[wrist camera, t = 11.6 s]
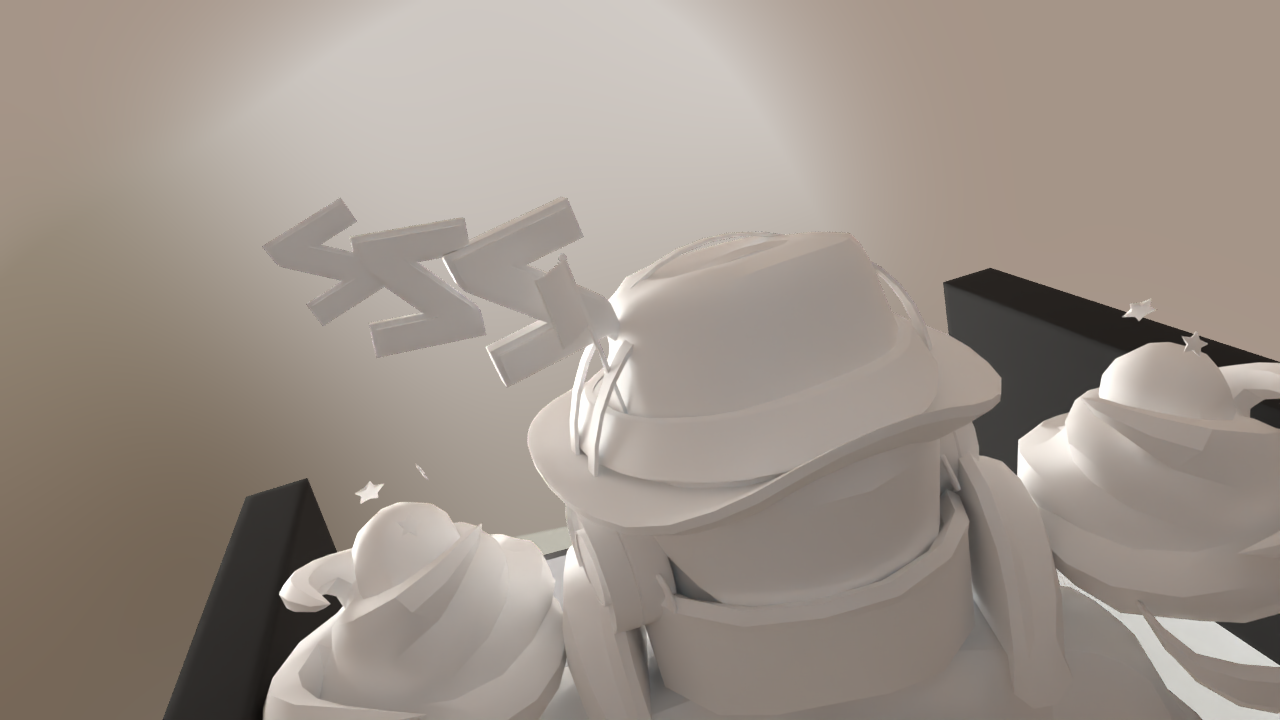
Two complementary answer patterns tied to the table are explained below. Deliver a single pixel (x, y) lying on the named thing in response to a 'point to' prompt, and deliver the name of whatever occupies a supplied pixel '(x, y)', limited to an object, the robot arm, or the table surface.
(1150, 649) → the table surface
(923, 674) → the hat wearing toy figure
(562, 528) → the table surface
